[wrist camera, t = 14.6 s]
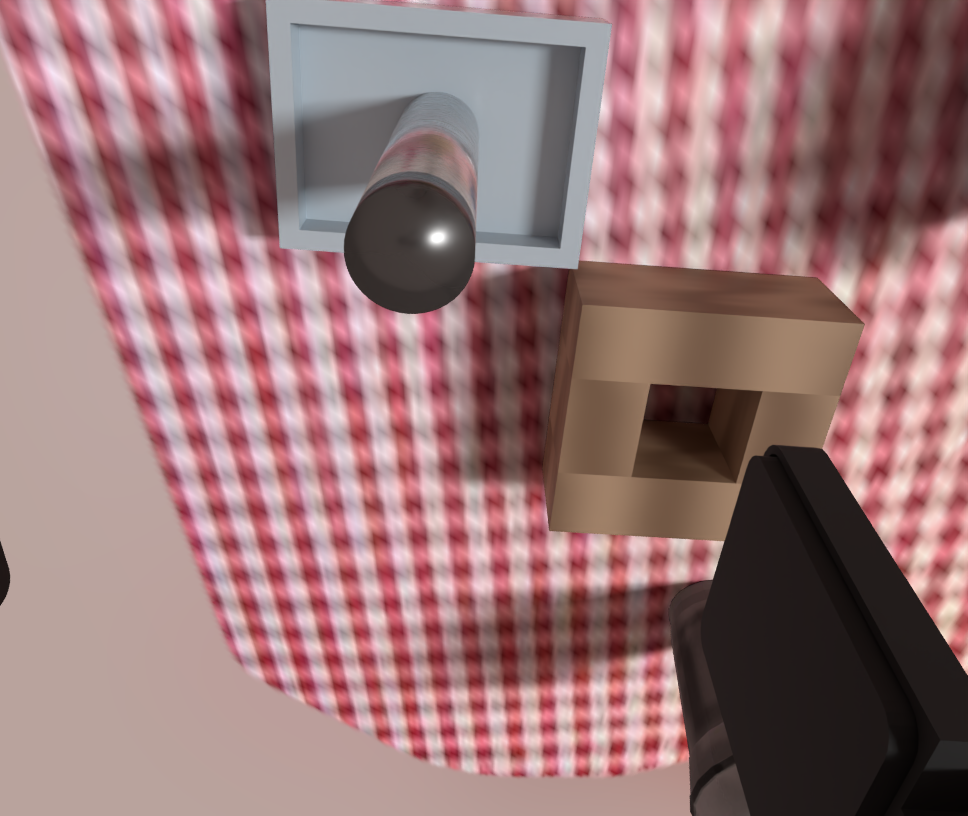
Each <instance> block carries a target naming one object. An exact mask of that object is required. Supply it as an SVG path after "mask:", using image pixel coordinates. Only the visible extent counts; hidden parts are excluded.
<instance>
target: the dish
mask: <svg viewBox="0 0 968 816" xmlns="http://www.w3.org/2000/svg"><path fill="white" fill-rule="evenodd" d="M266 14H267V32H268V49H269V67H270V84H271V101H272V119H273V136H274V154H275V171H276V189H277V206H278V224H279V241H280V248H286V249H300V250H314V251H328V252H342V253H344V238H345V233H346V230H347V227H348V224H349V222H350V220H351V218H352V216H353V214H354V212H355V209H356V207H357V205H358V203H359V201H360V199H361V197H362V195H363V193H364V191H365V189H366V187H367V185H368V183H369V181H370V178H371V176H372V174H373V172H374V170H375V168H376V166H377V164H378V162H379V160H380V158H381V156H382V154H383V152H384V150H385V147H386V145H387V143H388V141H389V139H390V137H391V135H392V133H393V131H394V129H395V127H396V125H397V123H398V121H399V118H400V116H401V114H402V112H403V111H404V109H405V108H406V106H407V105H408V104H409V103H410V102H411V101H413V100H414V99H415V98H417V97H418V96H421V95H423V94H426V93H430V92H444V93H448V94H451V95H453V96H456V97H457V98H459V99H461V100H462V101H463V102H464V103H465V104H466V105H467V106H468V107H469V108H470V109H471V111H472V112H473V114H474V116H475V118H476V121H477V124H478V128H479V156H478V186H477V216H476V246H475V262H482V263H497V264H511V265H525V266H539V267H553V268H567V269H578V263H579V256H580V249H581V241H582V234H583V227H584V220H585V213H586V206H587V199H588V192H589V184H590V177H591V170H592V163H593V156H594V149H595V142H596V134H597V127H598V120H599V113H600V106H601V99H602V92H603V85H604V77H605V70H606V63H607V56H608V49H609V42H610V35H611V28H612V24H611V23H609V22H608V21H606V20H604V19H601V18H589V17H577V16H565V15H553V14H541V13H529V12H517V11H505V10H493V9H481V8H469V7H457V6H445V5H433V4H421V3H409V2H397V1H384V0H266Z"/></svg>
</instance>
